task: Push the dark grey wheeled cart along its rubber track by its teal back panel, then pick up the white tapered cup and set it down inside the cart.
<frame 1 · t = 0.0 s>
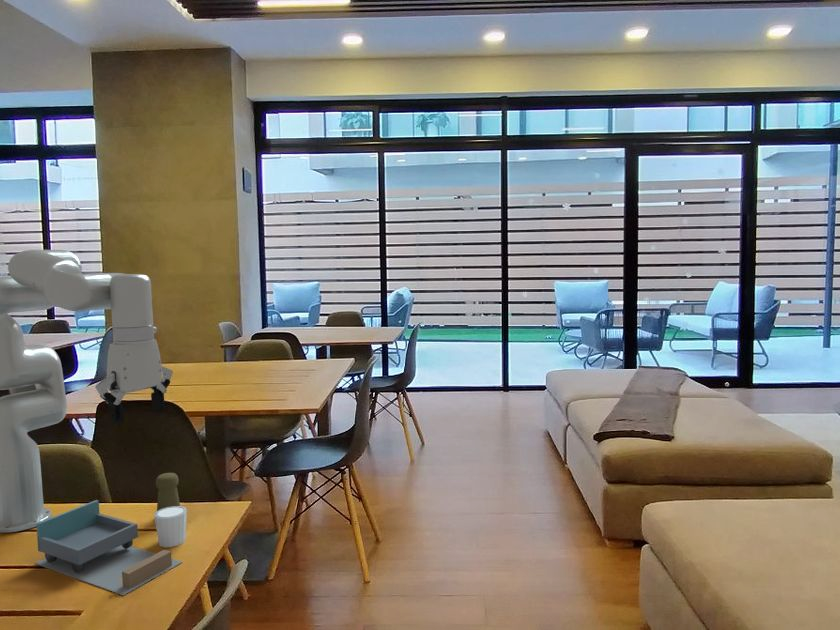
hand: (138, 417, 127), 31 cm above the table, tool pointing down, fingers open, 9 cm apart
white tapered cup: (172, 542, 139), on the table
olive pepper shaker: (169, 518, 152), on the table
cart: (88, 535, 132), point 5 cm above the table, slide at 0.0 cm
track: (108, 563, 129), on the table
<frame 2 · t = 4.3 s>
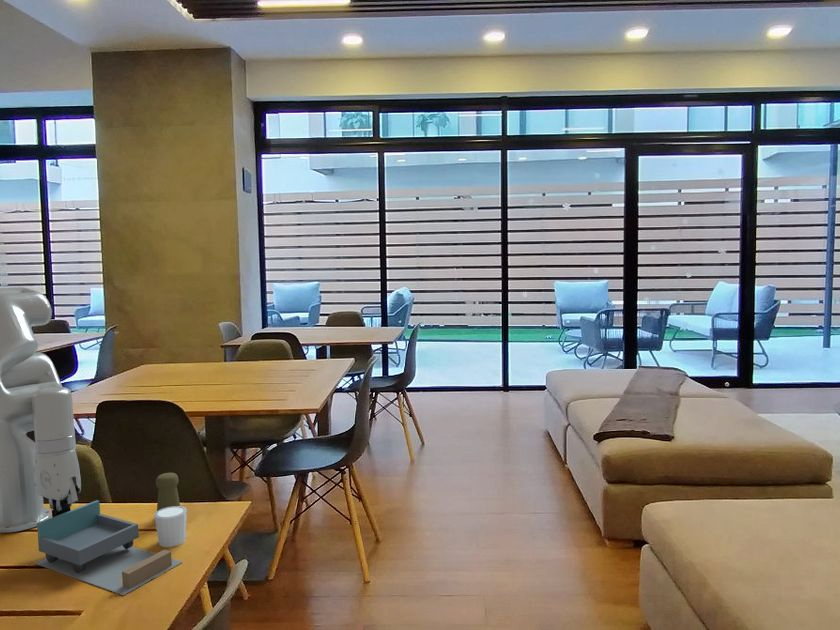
hand: (62, 525, 136), 5 cm above the table, tool pointing down, fingers closed
cart: (89, 536, 132), point 5 cm above the table, slide at 0.3 cm, touching gripper
everything else where it was.
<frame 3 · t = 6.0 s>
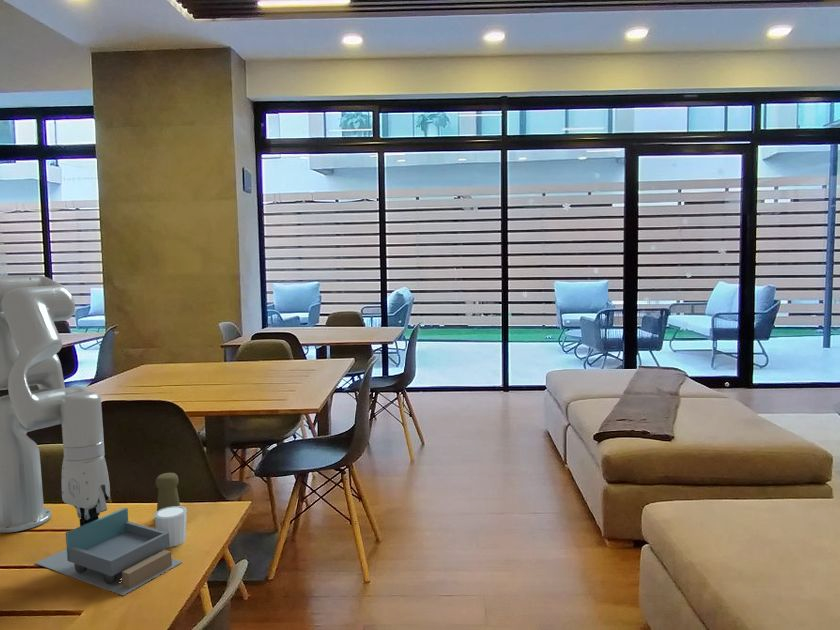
hand: (90, 534, 131), 5 cm above the table, tool pointing down, fingers closed
cart: (119, 545, 127), point 5 cm above the table, slide at 9.9 cm
everything else where it was.
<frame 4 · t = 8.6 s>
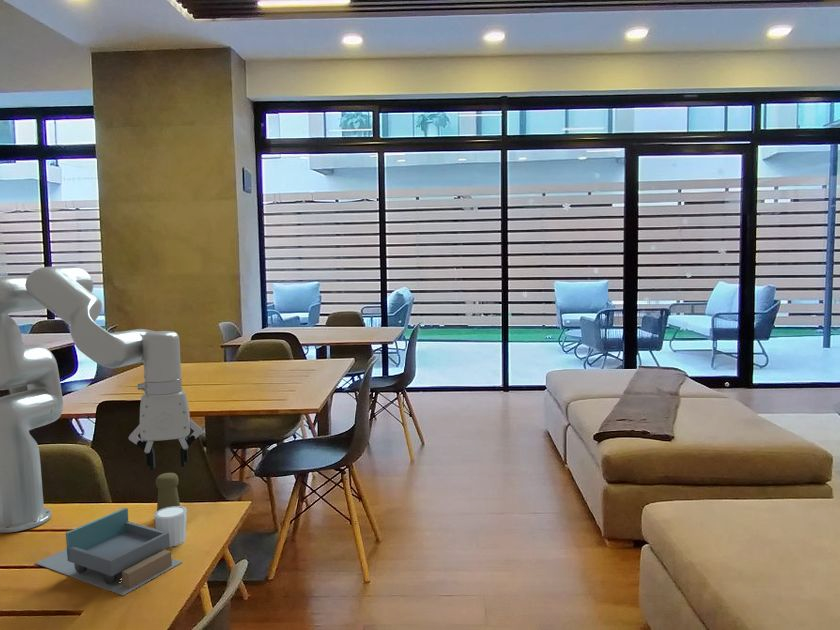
hand: (168, 466, 137), 18 cm above the table, tool pointing down, fingers open, 5 cm apart
nothing on the table moved.
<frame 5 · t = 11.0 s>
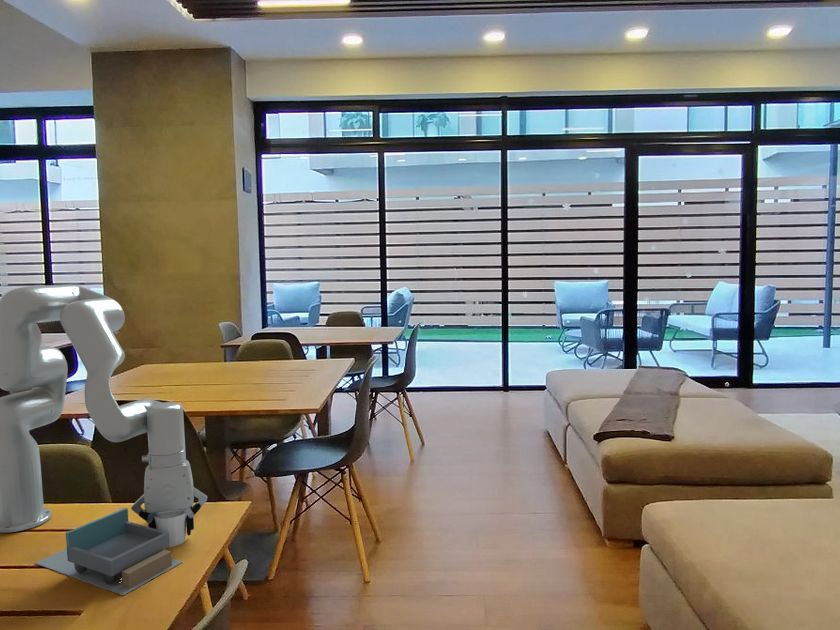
hand: (171, 534, 139), 2 cm above the table, tool pointing down, fingers closed on white tapered cup, 6 cm apart
white tapered cup: (172, 542, 139), on the table, touching gripper
everything else where it was.
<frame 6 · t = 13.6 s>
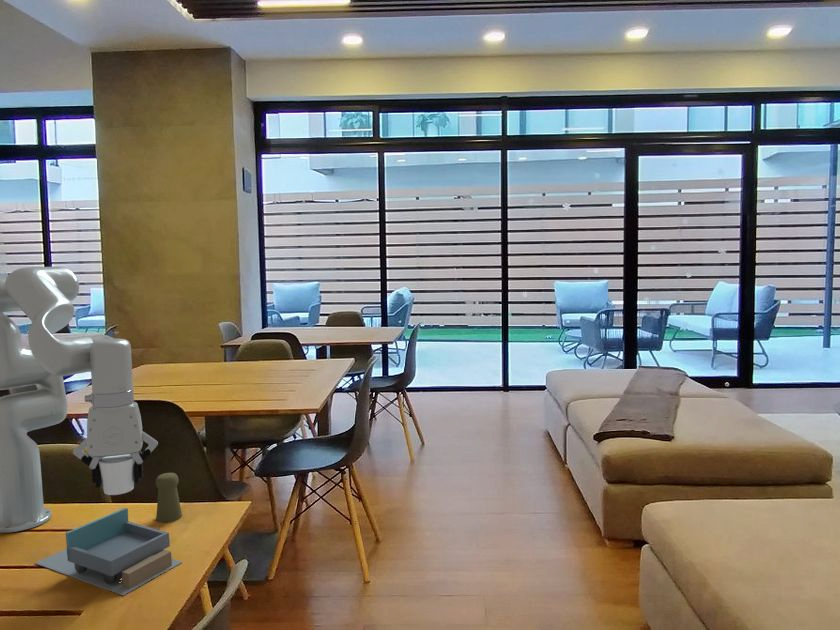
hand: (118, 482, 128), 17 cm above the table, tool pointing down, fingers closed on white tapered cup, 6 cm apart
white tapered cup: (119, 490, 128), point 16 cm above the table, touching gripper
everything else where it was.
when the fingers open (7 cm above the table, at t = 16.2 s): white tapered cup drops 2 cm, resting on cart.
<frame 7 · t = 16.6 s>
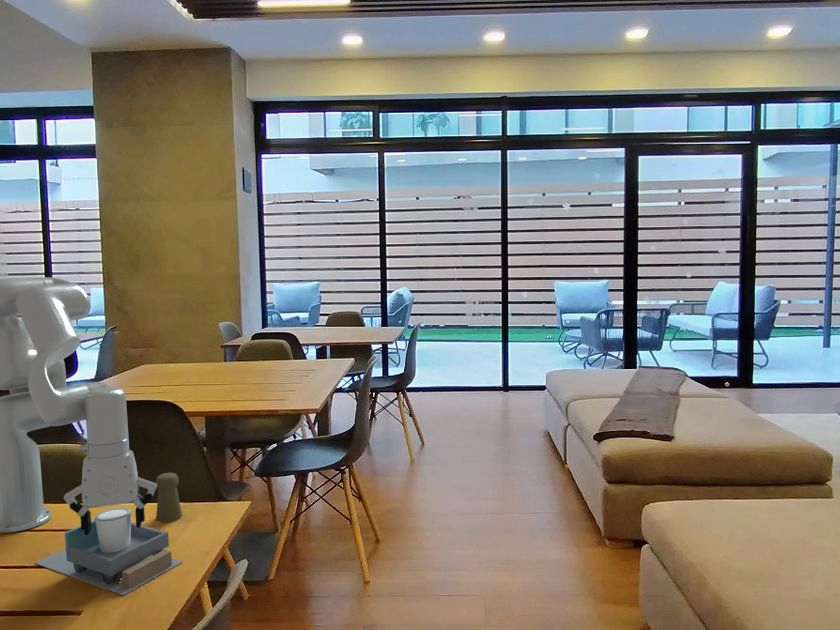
hand: (114, 528, 127), 8 cm above the table, tool pointing down, fingers open, 9 cm apart
white tapered cup: (115, 547, 128), point 4 cm above the table, touching cart
cart: (118, 544, 127), point 5 cm above the table, slide at 9.6 cm, touching white tapered cup
everything else where it was.
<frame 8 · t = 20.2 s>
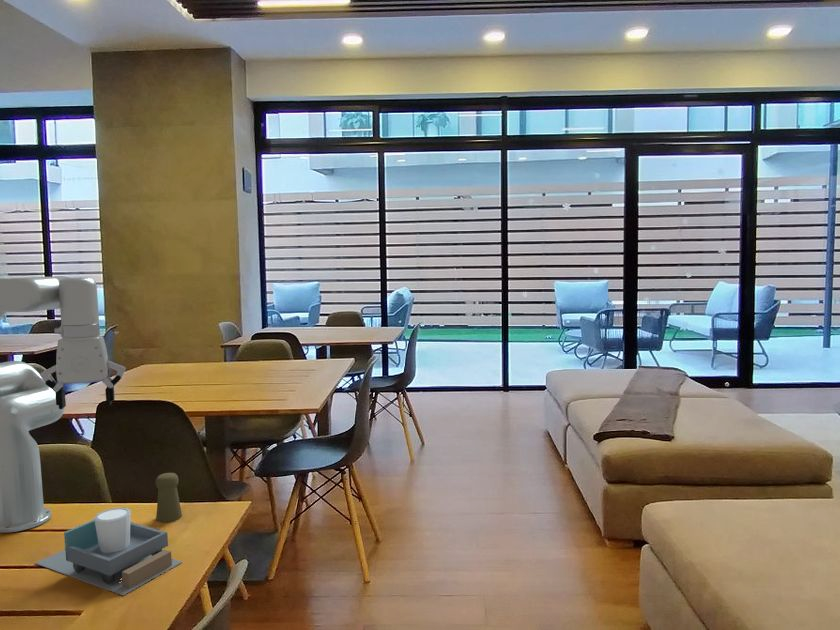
hand: (86, 406, 141), 30 cm above the table, tool pointing down, fingers open, 9 cm apart
nothing on the table moved.
at the end: cart slide at 9.4 cm; white tapered cup inside the target area (0.9 cm from its centre), point 3.8 cm above the table; white tapered cup tilted 0° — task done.
